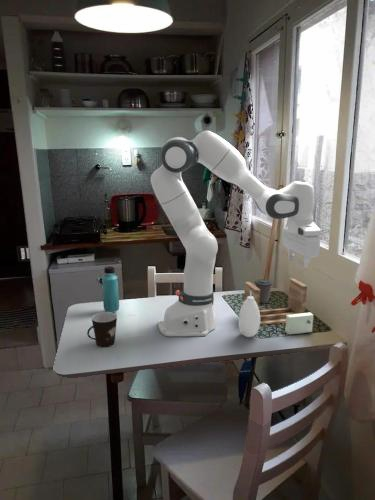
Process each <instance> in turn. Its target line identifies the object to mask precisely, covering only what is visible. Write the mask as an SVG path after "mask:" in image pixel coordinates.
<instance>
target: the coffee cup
mask: <svg viewBox="0 0 375 500" xmlns="http://www.w3.org/2000/svg"><path fill="white" fill-rule="evenodd" d="M254 285H255V286H256V287H257V288H258V289H260V303H259V304H267V303H268V302H269V300H270V294H271V288H272V285H273V282H272V280H269V279H265V278H260V279H256V280H255V281H254Z"/></svg>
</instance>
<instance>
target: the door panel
mask: <svg viewBox="0 0 375 500" xmlns="http://www.w3.org/2000/svg"><path fill="white" fill-rule="evenodd" d="M314 315H315V314H313V313H312V312H305V313H300V314H290V315H286V323H285V327H284V328H285V329H284V333H286V334H287V335H288V334H289V335H295V334H306V333H313V325H314V317H315V316H314Z"/></svg>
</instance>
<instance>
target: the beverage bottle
mask: <svg viewBox="0 0 375 500" xmlns="http://www.w3.org/2000/svg"><path fill="white" fill-rule="evenodd" d="M103 272H104V274H105V275H103V277H102V278H101V279H102V299H103V300H102V302H103V310H104V312H112V313H115V312H118V311H119V310H120V298H119V296H120V295H119V283H118V282H119V281H118V277H119V276H117V275H116V274H115V267H114V266H106V267H104V271H103Z"/></svg>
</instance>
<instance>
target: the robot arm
mask: <svg viewBox="0 0 375 500" xmlns="http://www.w3.org/2000/svg"><path fill="white" fill-rule="evenodd" d="M159 154H160V161H161V166H159V167H158V168H157V169H155V170H154V171H153V172H152V174H151V176H150V183H151V186H152V190H153V192H154V195H155V196H156V198H157V201H158V202H159V204H160V206H161V208H162V210H163V211H164V213H165V214H166V217H167V218H168V220H169V222H170V224H171V225H172V227H173V229H174V231H175V233H176V234H177V236H178V238H179V241H180V242H181V243H182V246H183V247H184V248H185V253H186V254H185V265H184V270H183V290H182V291H180V290H179V289H177V290H176V291H175V292H174V293H175V295H176V297H178V300H177V301H175V302H174V303H172V304H171V305H170V306H168V307H167V308H166V309H165V312H164V315H163V318H161V319H159V321H158V323H157V327H158V330H159V333H161V334H162V335H163V336H165V337H205V336H207V335H209V333H210V332H211V331H213V330H215V328H216V327H217V326H216V325H217V324H216V321H215V317H214V309H213V307H214V301H215V297H214V295H215V294H214V289H213V283H214V268H215V264H216V257H217V254H218V252H219V251H218V250H219V246H218V241H217V238H216V237H215V235H214V234H212V233H211V231H209V229H208V228H207V225H206V224H205V222H204V220H203V218H202V216H201V213H200V211H199V208H198V207H197V204H196V203H195V201H194V199H193V197H192V195H191V193H190V191H189V189H188V188H187V186H186V183H185V182H184V180H183V177H182V173H183V172H185V171H186V170H188V169H190V168H191V167H192V166H194V165H195V164H196V163H199V164H201V165H203V166H204V167H206V169H208V170H209V171H210V172H211V173H213V174H214V175H215V176H217V177H218V178H220V179H222V180H223V181H225V182H227V183H231V184H234V185H236V186H237V187H239V188H240V189H241V190H242V191H243V192H244V193H246V194H247V195H248V196H249V197H250V198H252V200H253V201H254V203H255V204H256V207H257V209H258V210H259V211H260V213H262V214H263V215H266V216H268V217H269V218H271V219H274V220H281V219H282V220H283V219H286V218H287V223H286V224H285V225H284V228H283V231H282V237H281V245H282V246H283V247H284V248H287V249H286V251H287V253H288V260H289V261H295V259H296V256H295V254H294V253H295V252H296V253H297V254H300V255H302V256H303V261H302V262H301V267H302V268H308V267H309V264H310V261H311V259H312V258H314V259H315V258H317V257H318V256H319V254H320V250H321V248H320V247H321V239H320V236H322V235H321V234H322V230H321V229H320V227H318V226H317V225H316V223H315V222H314V208H315V187H314V185H313V184H311V183H309V182H304V181H298V180H295V181H291V182H290V183H289V184H288V185H286V186H285V187H282V188H281V189H278V190H277V189H276V188H273V187H268V186H266V185H264V184H263V183H262V182H261V181H260V180H259V179H257V178H256V176H254V175H253V174H252V173H251V172H250V171H249V169H248V168H247V165H246V163H247V162H246V159H245V158H244V157H243V155H242V154H241V153H240V151H238V150H237V148H235V147H234V146H233V145H232V144H230V143H229V142H228V141H227V140H226V139H224V138H222V137H221V136H220V135H218V134H216V133H215V132H212V131H211V130H203V131H200V132H199V133H198V134H197V135H196V136H195V137H194V138H192V140H188V139H187V137H184V136H179V135H177V136H173V137H171V138H169V139H167V140H166V141H165V142H164V144H163V145H162V147H161V150H160V153H159Z"/></svg>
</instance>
